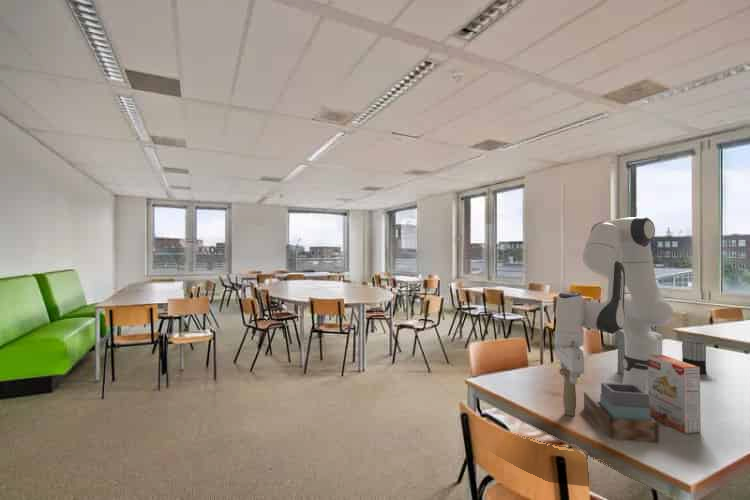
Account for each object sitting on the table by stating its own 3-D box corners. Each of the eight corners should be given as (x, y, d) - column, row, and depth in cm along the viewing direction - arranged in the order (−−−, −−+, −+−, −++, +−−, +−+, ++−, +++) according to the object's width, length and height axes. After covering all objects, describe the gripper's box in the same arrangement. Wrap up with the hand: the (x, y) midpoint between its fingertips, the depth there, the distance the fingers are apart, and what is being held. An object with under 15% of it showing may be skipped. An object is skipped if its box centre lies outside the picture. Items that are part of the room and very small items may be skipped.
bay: (624, 411, 131) (623, 394, 131) (658, 443, 110) (658, 422, 110) (584, 408, 134) (583, 392, 134) (610, 438, 112) (609, 418, 112)
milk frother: (712, 374, 172) (712, 342, 172) (677, 374, 172) (677, 342, 172) (687, 365, 186) (687, 335, 186) (655, 365, 187) (655, 335, 187)
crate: (634, 420, 121) (633, 384, 121) (650, 435, 111) (650, 395, 111) (600, 418, 123) (600, 381, 123) (613, 432, 113) (613, 393, 113)
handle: (575, 419, 125) (575, 374, 125) (557, 412, 130) (556, 370, 131) (582, 415, 128) (582, 372, 128) (564, 409, 133) (564, 367, 133)
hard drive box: (623, 376, 169) (623, 332, 170) (617, 371, 177) (616, 329, 177) (663, 379, 166) (662, 334, 166) (654, 373, 173) (654, 330, 173)
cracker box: (646, 414, 129) (646, 354, 129) (663, 414, 129) (662, 354, 130) (683, 434, 115) (683, 366, 115) (701, 433, 115) (701, 366, 116)
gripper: (590, 346, 119) (589, 389, 118) (569, 333, 139) (569, 370, 138) (568, 345, 120) (568, 388, 120) (551, 332, 140) (551, 368, 140)
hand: (568, 378), depth 129 cm, fingers open, 8 cm apart
